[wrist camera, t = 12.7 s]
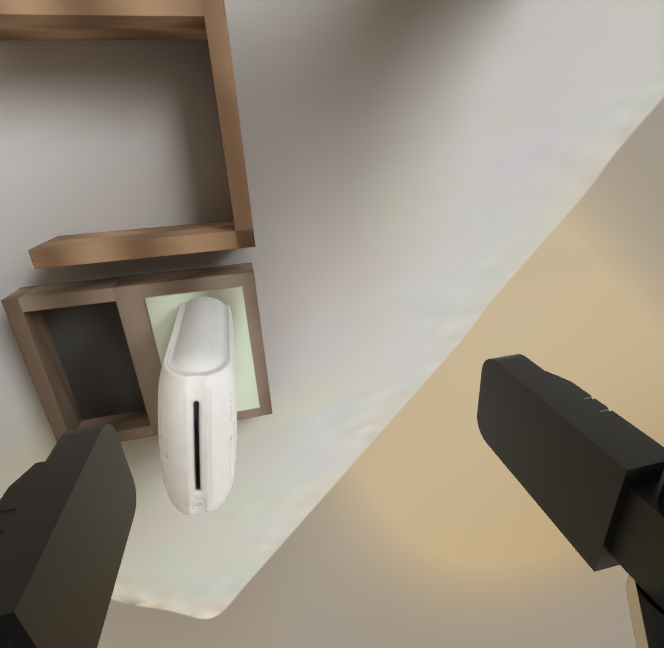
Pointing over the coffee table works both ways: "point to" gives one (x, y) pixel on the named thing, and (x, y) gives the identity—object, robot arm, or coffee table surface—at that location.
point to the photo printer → (199, 407)
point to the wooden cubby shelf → (210, 24)
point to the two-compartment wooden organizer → (128, 344)
